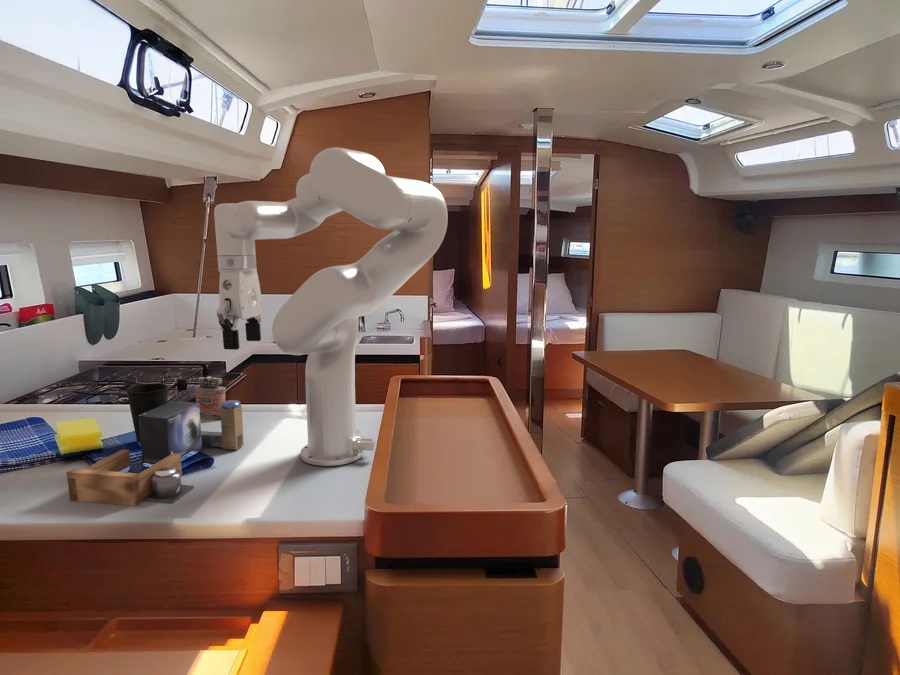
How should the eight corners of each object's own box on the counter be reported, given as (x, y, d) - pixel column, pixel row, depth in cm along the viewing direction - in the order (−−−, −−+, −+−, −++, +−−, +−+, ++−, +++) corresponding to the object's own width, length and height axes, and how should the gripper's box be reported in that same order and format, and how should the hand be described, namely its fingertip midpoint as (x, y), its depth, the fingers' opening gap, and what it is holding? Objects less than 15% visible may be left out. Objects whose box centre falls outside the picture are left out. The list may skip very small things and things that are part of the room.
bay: (182, 474, 111) (180, 448, 110) (134, 505, 98) (132, 477, 97) (123, 469, 113) (121, 444, 112) (69, 500, 100) (66, 471, 99)
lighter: (193, 418, 144) (190, 377, 142) (202, 413, 147) (199, 374, 145) (221, 421, 141) (218, 380, 140) (230, 417, 145) (228, 376, 143)
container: (245, 444, 126) (243, 400, 124) (237, 450, 122) (234, 405, 120) (183, 440, 128) (179, 397, 126) (172, 446, 124) (169, 401, 123)
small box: (171, 471, 113) (166, 417, 111) (140, 468, 114) (135, 415, 112) (204, 451, 123) (201, 401, 121) (176, 448, 124) (172, 399, 122)
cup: (142, 452, 122) (137, 394, 120) (125, 443, 126) (119, 388, 124) (179, 441, 128) (174, 387, 126) (160, 434, 132) (156, 381, 130)
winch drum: (193, 487, 105) (192, 465, 105) (172, 503, 99) (170, 479, 99) (162, 485, 106) (160, 462, 105) (140, 500, 100) (137, 476, 100)
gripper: (233, 266, 116) (239, 353, 119) (272, 262, 133) (277, 338, 136) (197, 266, 117) (204, 352, 120) (240, 262, 134) (245, 337, 137)
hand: (243, 344), depth 128 cm, fingers open, 9 cm apart
